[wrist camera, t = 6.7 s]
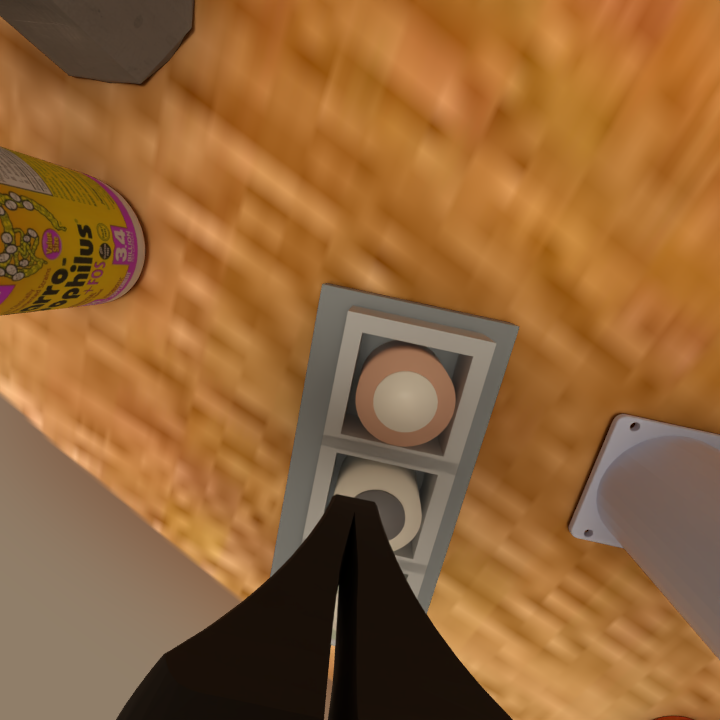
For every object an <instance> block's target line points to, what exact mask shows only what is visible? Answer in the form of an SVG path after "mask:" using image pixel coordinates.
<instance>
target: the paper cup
mask: <svg viewBox="0 0 720 720" xmlns="http://www.w3.org/2000/svg"><path fill="white" fill-rule="evenodd" d="M654 720H693V719H690V718H686V717H680V716H668V717H661V718H657V719H654Z"/></svg>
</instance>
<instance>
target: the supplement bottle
mask: <svg viewBox="0 0 720 720" xmlns="http://www.w3.org/2000/svg"><path fill="white" fill-rule="evenodd" d="M144 260H145V242H144V236H143V232H142V228H141V226H140V223H139V221H138V219H137V217H136V215H135V213H134V211H133V210H132V208H131V207H130V205H129V204H128V203H127V202H126V200H125V199H124V198H123V197H122V196H121V195H120V194H119V193H118V192H116V191H115V190H114V189H112V188H111V187H110V186H108V185H107V184H105V183H103V182H102V181H100V180H98V179H96V178H93V177H91V176H89V175H86V174H83V173H80V172H77V171H74V170H71V169H68V168H65V167H62V166H59V165H56V164H53V163H50V162H47V161H44V160H40V159H37V158H34V157H31V156H28V155H25V154H22V153H19V152H16V151H12V150H9V149H6V148H3V147H0V315H9V314H17V313H27V312H35V311H44V310H54V309H61V308H70V307H79V306H87V305H95V304H102V303H106V302H110V301H113V300H115V299H117V298H119V297H121V296H122V295H124V294H125V293H127V292H128V291H129V290H130V289H131V288H132V287H133V285H134V284H135V283H136V281H137V280H138V278H139V276H140V274H141V271H142V268H143V265H144Z"/></svg>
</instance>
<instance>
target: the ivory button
mask: <svg viewBox="0 0 720 720" xmlns="http://www.w3.org/2000/svg"><path fill="white" fill-rule="evenodd" d="M336 494H339V495H344V496H349V497H354V498H359V499H363V500H368V501H373V502H375V503H376V505H377V507H378V511H379V515H380V518H381V521H382V524H383V527H384V530H385V533H386V535H387V538H388V540H389V543H390V545H391V547H392V550H393V551H395V550H398V549H400V548H402V547H404V546H405V545H406V544H408V543H409V542H410V541H411V540H412V539H413V538H414V537H415V535H416V534H417V532H418V530H419V528H420V525H421V520H422V512H421V504H420V498H419V491H418V485H417V478H416V473H415V470H413V469H409V468H404V467H400V466H395V465H391V464H386V463H382V462H377V461H373V460H368V459H364V458H359V457H355V456H350V455H348V456H347V457H346V458H345V460H344V461H343V463H342V465H341V467H340V470H339V474H338V478H337V483H336V487H335V492H334V495H336Z"/></svg>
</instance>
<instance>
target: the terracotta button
mask: <svg viewBox="0 0 720 720" xmlns="http://www.w3.org/2000/svg"><path fill="white" fill-rule="evenodd" d="M455 401H456V398H455V390H454V386H453V383H452V381H451V379H450V377H449V375H448V374H447V372H446V370H445V369H444V367H443V365H442V364H441V362H440V360H439V359H438V357H437V356H436V355H435V354H434V352H433V351H432V350H430V349H429V348H428V347H426V346H422V345H418V344H413V343H408V342H404V341H399V340H394V341H389V342H387V343H384V344H382V345H380V346H379V347H377V348H376V349H375V350H373V351H372V352H371V353H370V355H369V356H368V357H367V359H366V360H365V362H364V364H363V366H362V369H361V373H360V377H359V382H358V386H357V390H356V402H355V403H356V410H357V413H358V416H359V418H360V421H361V422H362V424H363V426H364V427H365V428H366V429H367V431H369V432H370V433H371V434H372V435H373V436H374V437H376V438H377V439H379V440H381V441H382V442H385V443H387V444H390V445H394V446H401V447H409V446H416V445H420V444H423V443H426V442H428V441H430V440H432V439H433V438H435V437H436V436H438V435H439V434H440V433H441V432H442V431H443V430H444V429H445V428H446V426H447V425H448V424H449V422H450V420H451V418H452V416H453V413H454V409H455Z"/></svg>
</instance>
